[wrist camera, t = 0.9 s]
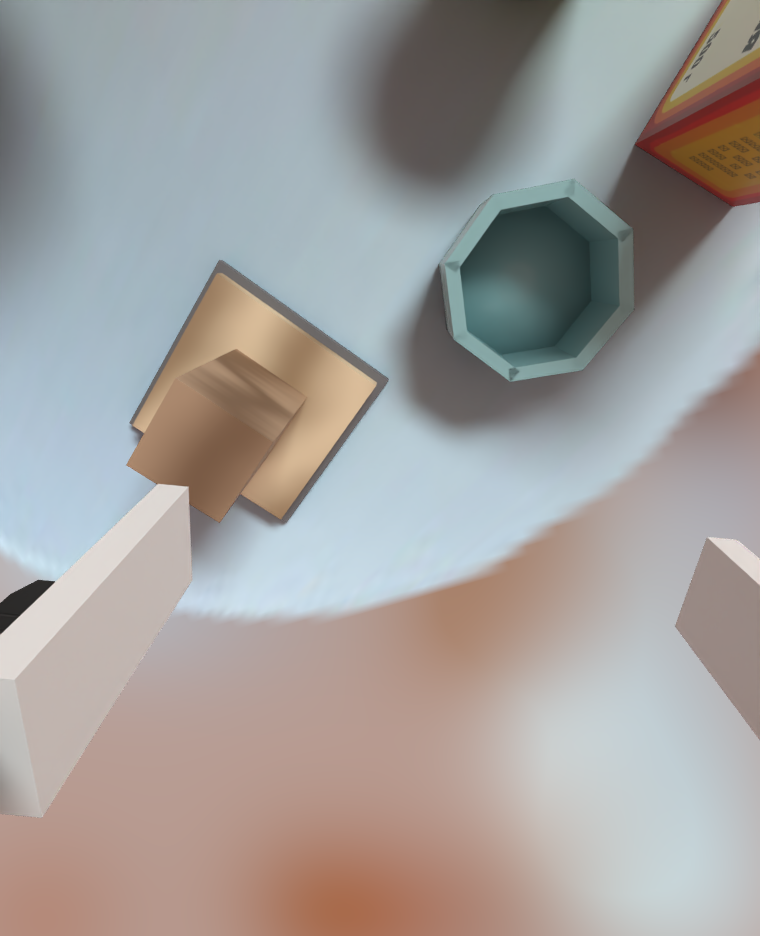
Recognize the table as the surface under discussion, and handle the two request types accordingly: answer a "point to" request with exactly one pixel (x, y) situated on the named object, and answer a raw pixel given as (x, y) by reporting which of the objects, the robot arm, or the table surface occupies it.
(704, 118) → the baking soda box
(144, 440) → the lid
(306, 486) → the mat
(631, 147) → the table surface
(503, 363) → the bowl
